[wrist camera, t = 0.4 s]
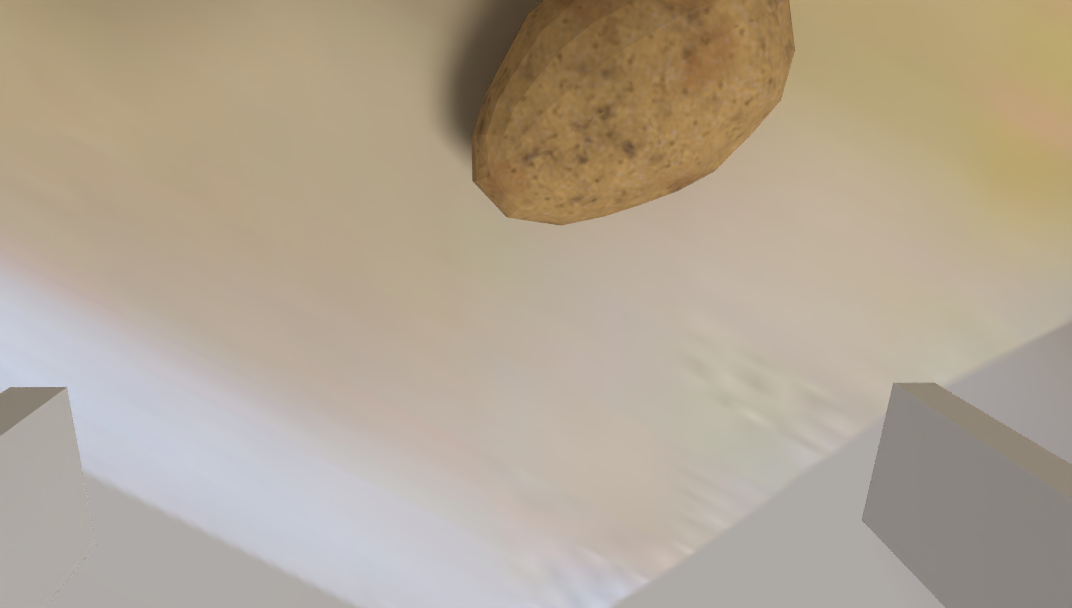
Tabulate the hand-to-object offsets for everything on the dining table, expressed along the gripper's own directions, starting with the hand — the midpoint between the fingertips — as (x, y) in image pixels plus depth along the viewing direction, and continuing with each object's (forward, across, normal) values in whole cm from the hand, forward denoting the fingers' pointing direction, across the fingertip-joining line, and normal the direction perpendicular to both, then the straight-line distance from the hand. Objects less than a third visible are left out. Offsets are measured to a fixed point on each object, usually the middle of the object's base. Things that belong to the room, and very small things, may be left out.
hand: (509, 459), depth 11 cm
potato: (+23, +6, +7) cm, 24 cm away
